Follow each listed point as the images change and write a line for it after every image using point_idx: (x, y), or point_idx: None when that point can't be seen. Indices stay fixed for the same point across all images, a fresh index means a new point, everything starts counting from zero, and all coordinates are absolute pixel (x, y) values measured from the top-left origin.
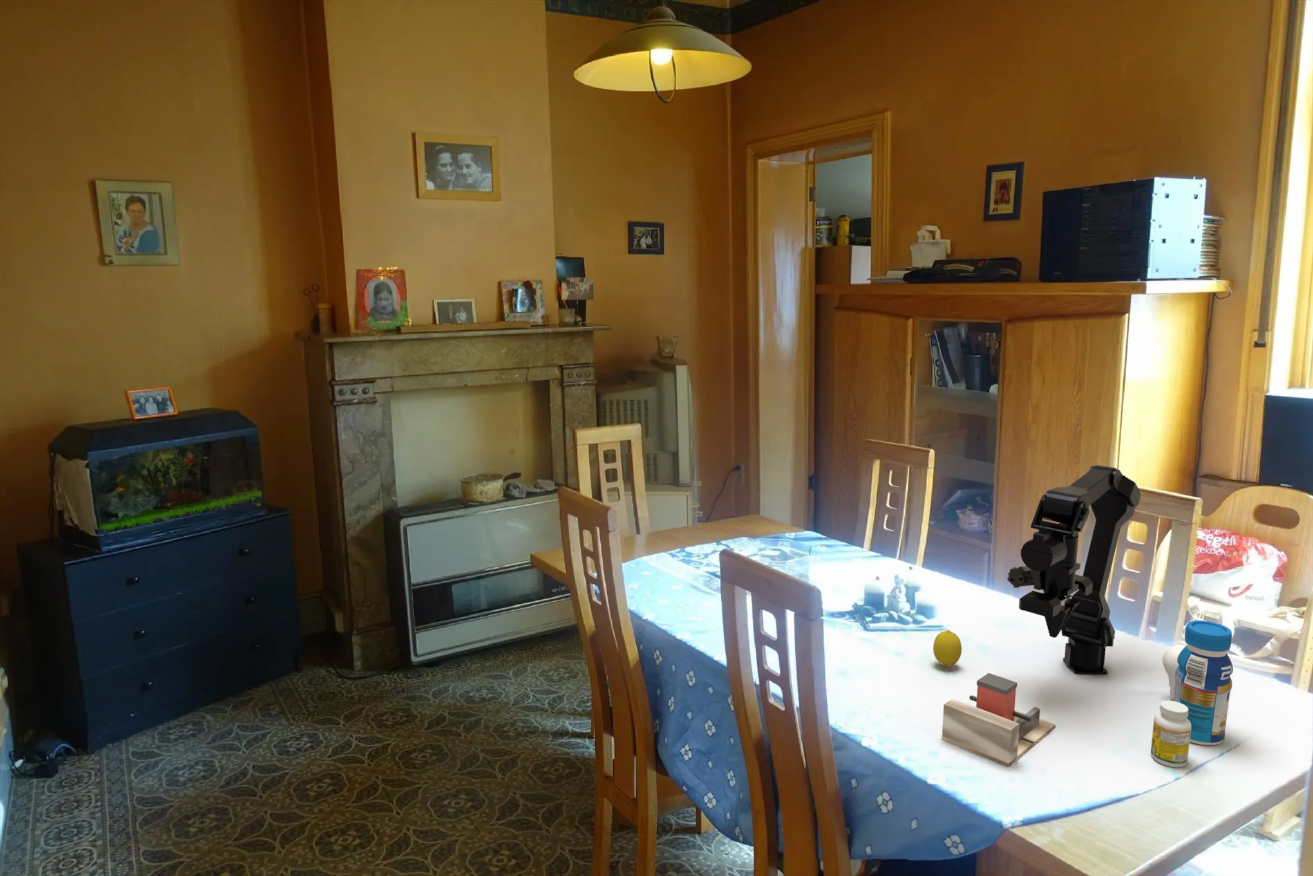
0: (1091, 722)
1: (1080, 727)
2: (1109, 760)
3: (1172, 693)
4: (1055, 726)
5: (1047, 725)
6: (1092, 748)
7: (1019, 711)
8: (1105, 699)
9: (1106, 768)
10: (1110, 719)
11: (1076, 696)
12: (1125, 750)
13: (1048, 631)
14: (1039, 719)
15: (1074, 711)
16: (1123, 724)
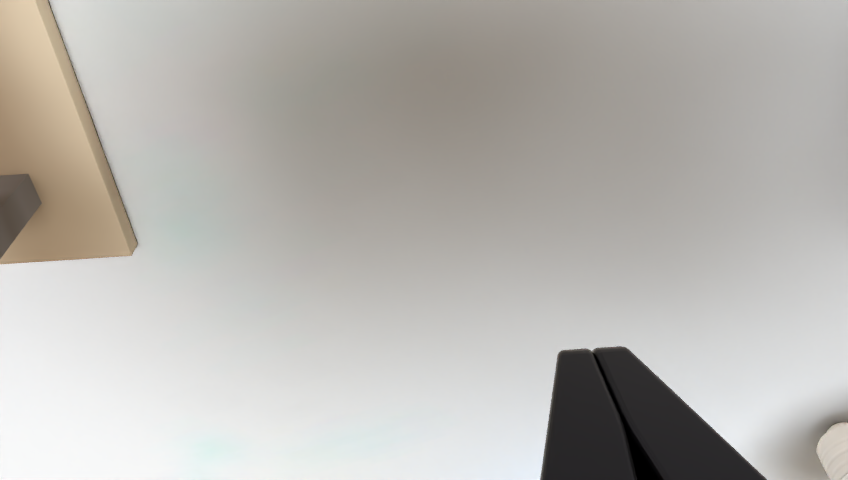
0: (354, 315)
1: (260, 307)
2: (115, 459)
3: (834, 458)
4: (133, 249)
5: (78, 235)
6: (134, 400)
7: (48, 52)
8: (664, 260)
9: (52, 472)
10: (456, 348)
11: (596, 154)
12: (244, 461)
13: (557, 399)
14: (89, 181)
15: (399, 224)
16: (453, 391)
